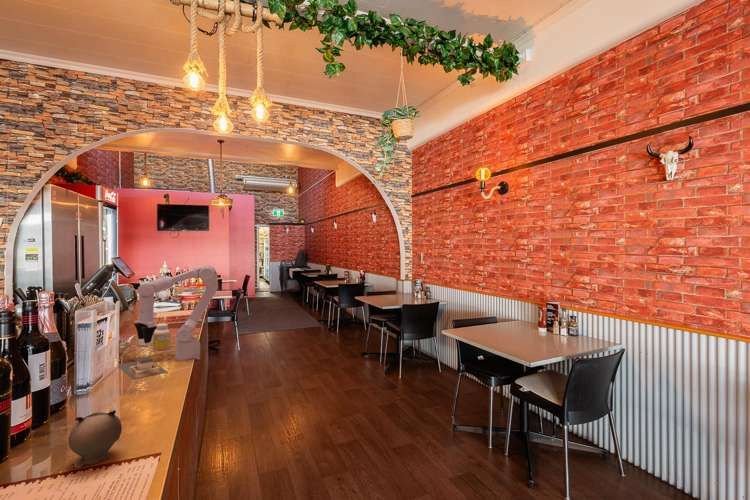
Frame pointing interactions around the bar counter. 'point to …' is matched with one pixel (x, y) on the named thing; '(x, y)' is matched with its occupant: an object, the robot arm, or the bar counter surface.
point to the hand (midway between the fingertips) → (144, 340)
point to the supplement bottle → (161, 338)
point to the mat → (126, 366)
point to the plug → (144, 363)
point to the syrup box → (141, 341)
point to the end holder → (144, 371)
